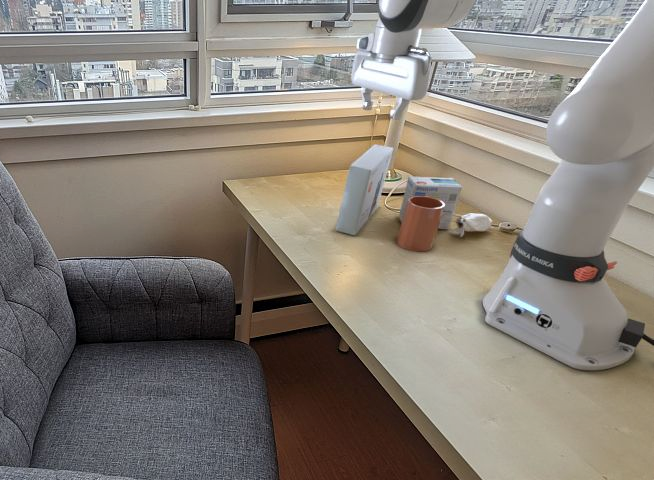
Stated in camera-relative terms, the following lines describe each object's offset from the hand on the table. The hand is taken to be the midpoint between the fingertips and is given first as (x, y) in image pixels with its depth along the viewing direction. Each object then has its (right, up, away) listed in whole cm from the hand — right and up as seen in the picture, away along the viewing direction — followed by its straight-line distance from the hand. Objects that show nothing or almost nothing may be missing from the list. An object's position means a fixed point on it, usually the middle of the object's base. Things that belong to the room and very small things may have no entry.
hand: (380, 114), depth 105 cm
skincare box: (0, -21, +14) cm, 25 cm away
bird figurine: (+24, -25, +8) cm, 36 cm away
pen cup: (+9, -28, +2) cm, 30 cm away
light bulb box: (+15, -22, +12) cm, 29 cm away
